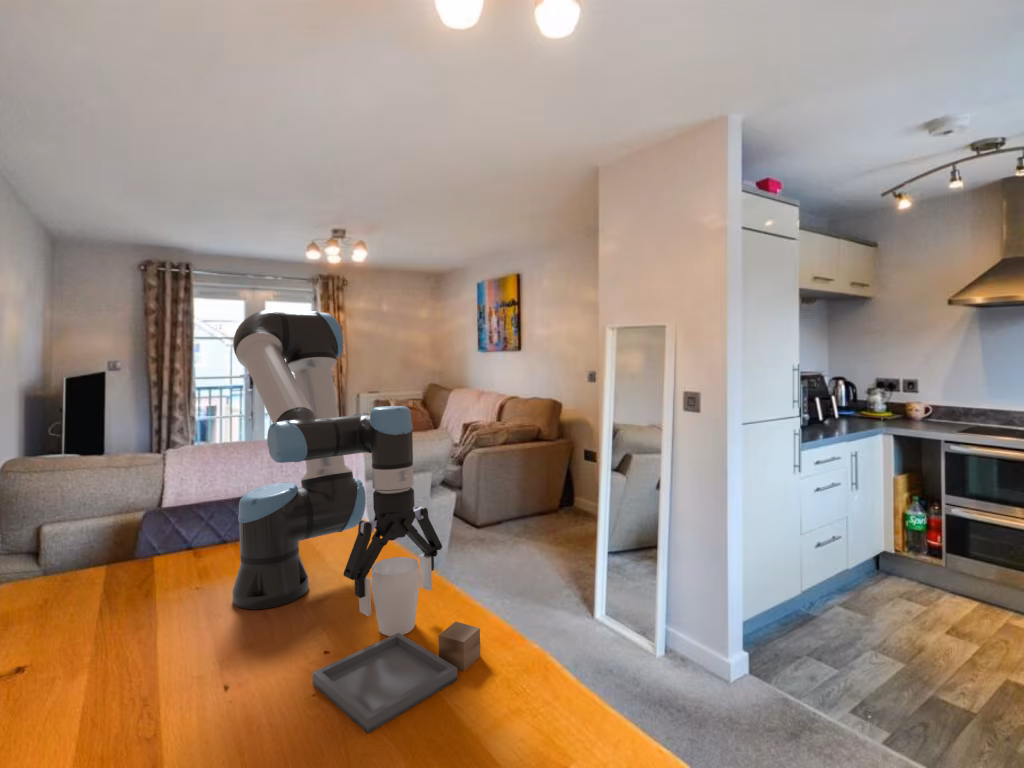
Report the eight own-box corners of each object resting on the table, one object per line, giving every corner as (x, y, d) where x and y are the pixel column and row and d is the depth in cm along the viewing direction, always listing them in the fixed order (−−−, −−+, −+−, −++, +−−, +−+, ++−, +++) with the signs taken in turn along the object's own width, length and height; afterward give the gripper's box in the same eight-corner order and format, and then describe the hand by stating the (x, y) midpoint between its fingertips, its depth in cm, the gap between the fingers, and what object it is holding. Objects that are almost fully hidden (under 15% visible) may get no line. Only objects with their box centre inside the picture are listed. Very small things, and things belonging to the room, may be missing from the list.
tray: (313, 684, 82) (312, 672, 82) (398, 643, 94) (398, 632, 93) (367, 733, 71) (367, 719, 71) (457, 680, 83) (457, 667, 82)
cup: (410, 642, 94) (408, 577, 93) (363, 637, 96) (361, 573, 95) (428, 618, 103) (426, 558, 102) (385, 614, 104) (383, 555, 104)
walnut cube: (439, 664, 87) (438, 634, 87) (456, 649, 92) (455, 621, 91) (464, 672, 85) (463, 642, 85) (480, 656, 89) (479, 628, 89)
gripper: (342, 505, 86) (347, 632, 87) (457, 479, 104) (460, 584, 105) (320, 498, 91) (325, 618, 92) (433, 475, 110) (437, 574, 110)
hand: (397, 600), depth 99 cm, fingers open, 13 cm apart
